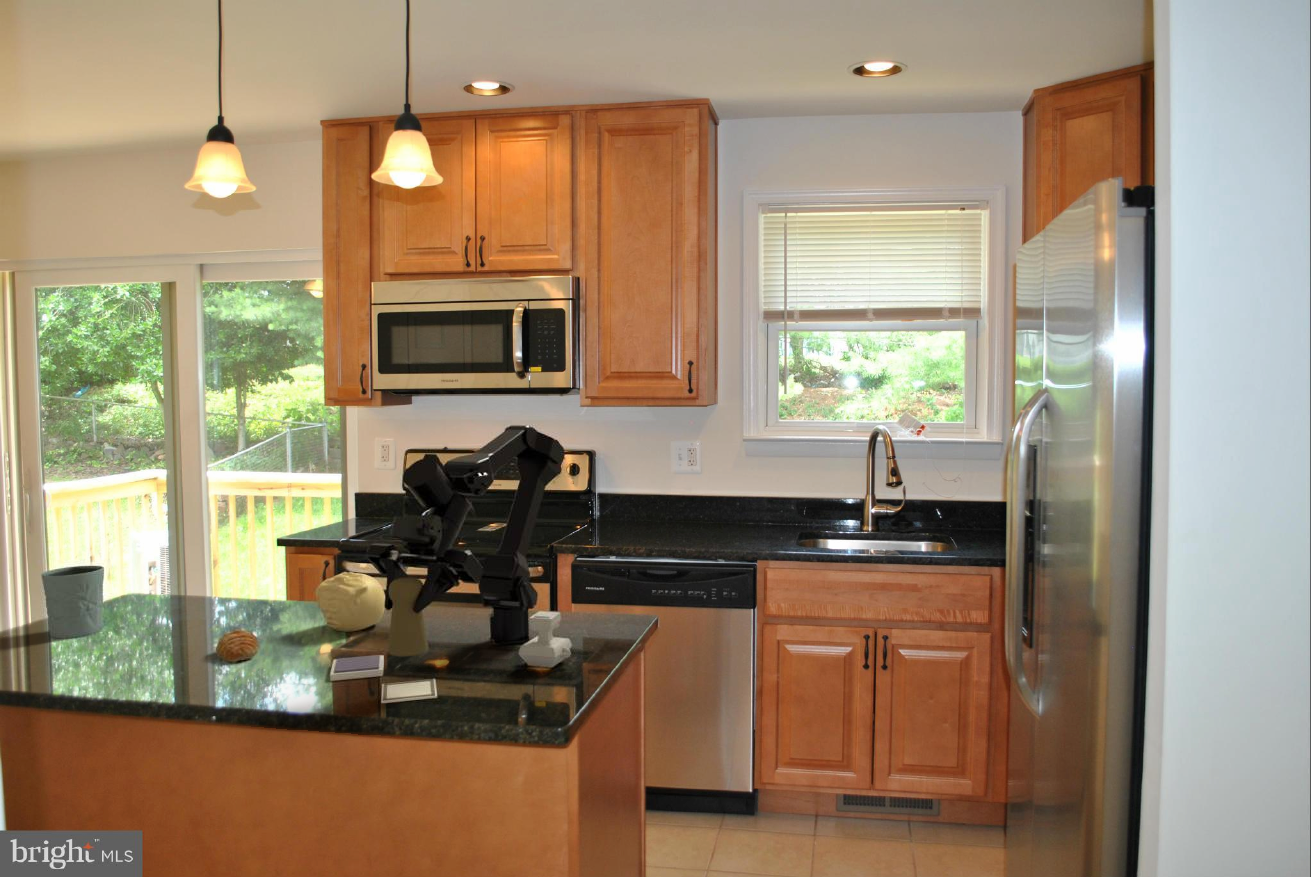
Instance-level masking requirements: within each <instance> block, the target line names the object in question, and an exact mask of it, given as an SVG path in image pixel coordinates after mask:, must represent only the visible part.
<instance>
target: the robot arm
mask: <svg viewBox="0 0 1311 877" xmlns="http://www.w3.org/2000/svg"><path fill="white" fill-rule="evenodd" d="M565 454H566V452H565V447H563V445H562V444H561V443H560V442H559V440H557V439H555V438H554V437H551V436H550V435H547V434H545V433H542V432H541V431H538V430H537V429H536V428H535V427H533V426H531V425H518V424H515V425H509V426H507V427H505V428H504V431H503V432H502V433H500V434H499V435H497V436H496V437H495V438H493V439H492V440H491V441H489V442H488V443H487V444H485V445H483V446H482V447H481V448H479V449H478V450H477V451H475V452H474V453H470V454H466V455H459V456H457V457H454V458H452V459H449V460H447V461H446V462H445V463H444V464H442V461H441V459H440V458H439V456H438V455H437V453H425V454H424V456H423V458H421V459H419V460H417V461H415V462H413V463H412V464H410V465H409V467H407V468H406V469H405V470H404V472H403V475H402V480H403V483H404V485H406V487H407V488H408V490H409V491H410V492H411V494H412V495H413V496H414V497H415V499H416V500H417V501H418V502H419V504H420V505H421V506H422V507H423V508H427V509H429V510H428V512H427V514H425V515H424V518H419V517H415V516H397V515H395V516H394V517H393V521H392V526H391V530H390V534H389V537H390V538H392V539H397V540H400V541H402V543H401V546H402V547H403V548H404V549H405V550H408V553H402V552H400V551H399V549H398V548H397V547H396V546H395V545H394V544H393V543H391V544H390V543H379V542H378V543H377V542H374V543H371V544H370V545H369V547H368V548H367V550H366V552H365V555H364V557H365V558H366V560H368V562H369V563H370V564H371V565H372V566H373V568H375V569H376V570H377V572H379V574H380V575H381V576H382V575H383V576H385V577H386V585H385V593H384V594H385V604H384V607H385V610H386V611H391V610H392V605H393V601H392V600H391V599H390V596H389V586H390V584H391V582H393V581H394V580H396V579H400V578H407V577H408V578H411V577H410V576H409V575H408V573H407V572H408V569H409V568H415V569H425V570H427V571H426V572H427V573H426V578H425V579H424V582H423V586H422V589H421V591H420V593H419V595H418V597H417V599H416V602H415V605H414V608H413V611H414V612H415V613H419V612H421V611H422V612H423V610H425V609H426V608H427V607H429V605H431V604H432V603H433V602H435V601H436V600H437V599H439V598H440V597H441V596H443V595H444V594H445V593H447V592H448V591H450V590H451V589H453V588H454V587H456V588H457V587H459V586H460V584H461V583H460V581H461V582H462V583H465V584H473V585H474V584H475V585H477V586H478V591H479V595H480V598H481V603H482V605H483V607H485V608H489V607H490V608H491V613H489V614H488V630H489V631H488V633H489V635H488V636H489V639H490V640H491V641H492V642H493V645H494V646H501V645H504V646H505V645H512V644H525V643H527V642H529V641H530V640H532V638H531V637H530V626H529V618H530V617H529V610H530V609H531V610H532V609H535V606H537V604H538V603H537V602H538V597H539V593H538V591H537V590H536V589H535V588H534V586H533V584H532V583H531V582H530V576H531V571H530V568H529V564H528V562H527V558H526V557H527V553H528V550H529V546H530V544H531V540H532V536H533V532H534V529H535V525H536V521H537V518H538V514H539V511H540V508H541V503H542V500H543V497H544V493H545V489H546V487H547V486H548V485H549V484H550V483H551V482H552V481H553V480H554V479H555V478H556V477H557V476H558V474H559V472H560V470H561V466H562V464H563V462H564V459H565V456H566V455H565ZM514 459H516V461H515V466H516V468H517V471H518V475H519V481H518V482H519V483H518V485H517V488H516V492H515V496H514V499H513V503H512V505H511V509H510V512H509V515H508V518H507V522H506V526H505V528H504V532H503V536H502V539H501V543H500V545H499V548H498V550H497V551H495V553H494V554H492V553H487V554H485V557H484V559H483V564H482V565H481V563H480V562H479V561H478V559H477V558H476V556H475V555H474V554H473V553H472V552H471V550H470V549H462V548H452V547H458V546H459V544H460V543H461V541H460V540H459V538H458V535H459V532H460V530H461V528H462V526H463V524H464V521H465V520H466V519H475V518H476V512H475V511H476V510H475V509H474V507H473V502H472V501H468V499H467V497H466V496H482V495H484V494H485V493H486V492H487V491H488V489H489V488H490V487H491V486H492V484H494V477H495V476H494V475H495V474H496V473H497V472H498V471H499V470H501V469H502V468H503V467H505V466H506V465H507V464H508V463H509V462H511V461H512V460H514ZM460 579H461V580H460ZM459 580H460V581H459Z"/></svg>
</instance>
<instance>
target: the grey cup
mask: <svg viewBox="0 0 1311 877" xmlns="http://www.w3.org/2000/svg"><path fill="white" fill-rule="evenodd" d="M104 577H105V567H104V566H102V565H79V566H78V565H77V566H68V567H67V566H66V567H61V568H56V569H51V570H50V569H49V570H47V571H44V572H42V573H41V581H42V585H43V587H42V588H43V590H44V596H45V608H46V614H47V620H48V630H49V635H50V637H51V638H53V639H59V640H60V639H61V640H62V639H63V640H65V639H77V638H82V637H87V636H92V635H95V634H97V633H100V632H102V630H103V627H104V626H103V625H104V624H103V623H104V614H103V609H104V595H103V593H104Z"/></svg>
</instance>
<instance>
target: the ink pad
mask: <svg viewBox="0 0 1311 877" xmlns="http://www.w3.org/2000/svg"><path fill="white" fill-rule="evenodd" d="M384 656H385V654H384V655H380V654H374V655H363V656H353V657H342V658H337V659H333V662H332V665H331V666H332V667H331V669H330V674H329V678H330V679H329V680H330V682H332V681H333V682H335V681H342V680H343V681H344V680H353V679H355V680H356V679H363V678H373V677H374V678H375V677H383V676H384V663H385V659H384Z"/></svg>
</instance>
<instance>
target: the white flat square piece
mask: <svg viewBox="0 0 1311 877" xmlns="http://www.w3.org/2000/svg"><path fill="white" fill-rule="evenodd" d="M437 698H438V693H437V683H436V678H429V679H418V680H409V681H408V680H407V681H399V682H388V683H382V684H381V698H380V700H381V701H380V702H381V704H388V703H399V702H407V701H416V700H418V701H419V700H427V699H429V700H430V699H437Z"/></svg>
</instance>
